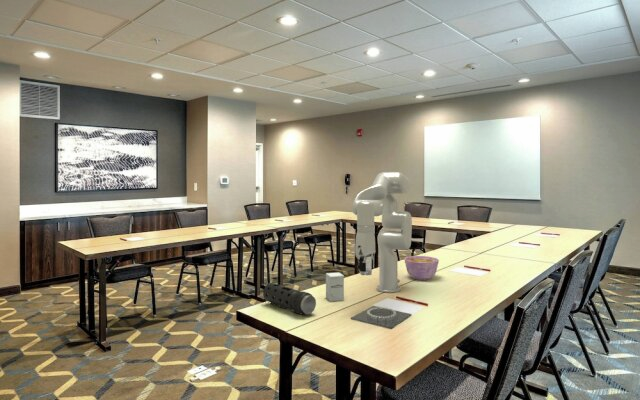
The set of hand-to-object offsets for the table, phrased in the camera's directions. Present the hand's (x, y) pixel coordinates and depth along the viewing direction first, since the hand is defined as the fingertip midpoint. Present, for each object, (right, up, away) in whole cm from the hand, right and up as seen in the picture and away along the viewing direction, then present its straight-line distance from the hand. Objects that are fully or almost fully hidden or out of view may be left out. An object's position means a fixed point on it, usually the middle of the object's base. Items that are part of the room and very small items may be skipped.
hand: (366, 269), depth 172 cm
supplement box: (-13, -19, +21) cm, 31 cm away
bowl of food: (+40, -16, +59) cm, 73 cm away
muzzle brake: (-35, -20, +7) cm, 40 cm away
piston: (0, -2, 0) cm, 2 cm away
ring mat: (+6, -20, -5) cm, 21 cm away
